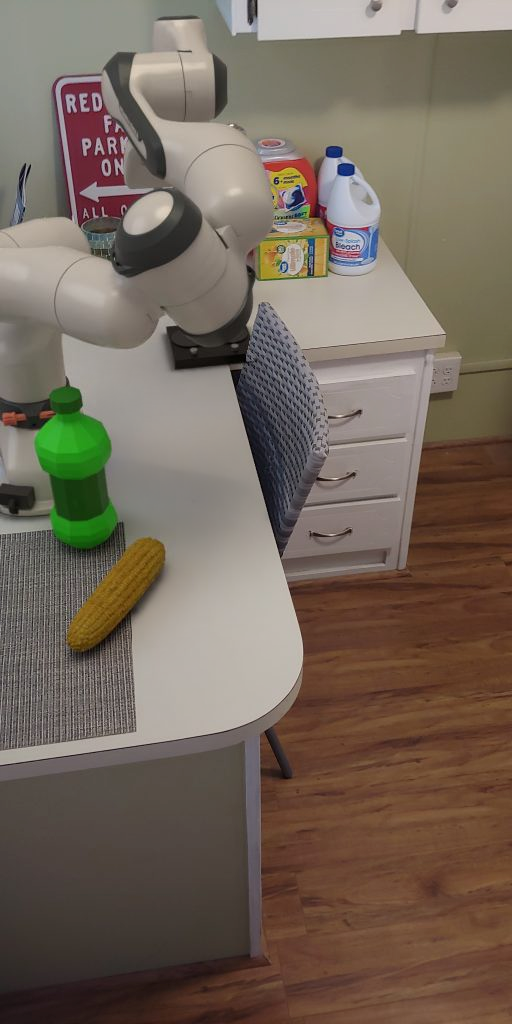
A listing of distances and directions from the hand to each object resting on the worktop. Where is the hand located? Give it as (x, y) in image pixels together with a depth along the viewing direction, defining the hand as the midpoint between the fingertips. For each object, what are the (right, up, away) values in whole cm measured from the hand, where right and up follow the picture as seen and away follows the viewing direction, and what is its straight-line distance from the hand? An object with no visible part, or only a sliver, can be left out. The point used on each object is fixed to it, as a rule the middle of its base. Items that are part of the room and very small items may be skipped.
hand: (186, 210), depth 158 cm
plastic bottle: (-13, -55, -19) cm, 60 cm away
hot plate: (+3, -19, +26) cm, 32 cm away
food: (-7, -65, -30) cm, 72 cm away
